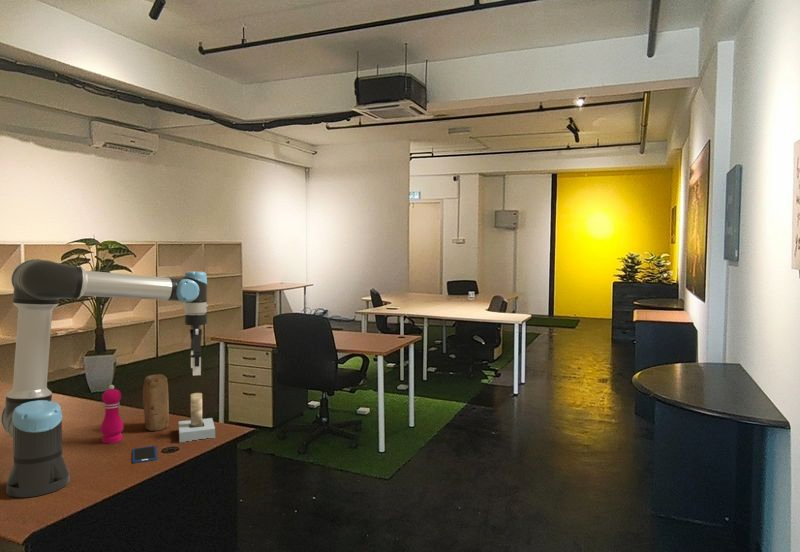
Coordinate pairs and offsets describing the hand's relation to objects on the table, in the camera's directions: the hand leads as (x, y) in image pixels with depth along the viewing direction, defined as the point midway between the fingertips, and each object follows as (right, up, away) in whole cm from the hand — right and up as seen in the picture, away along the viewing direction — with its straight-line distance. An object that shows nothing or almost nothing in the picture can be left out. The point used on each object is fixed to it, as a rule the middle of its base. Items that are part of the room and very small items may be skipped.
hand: (195, 371), depth 202 cm
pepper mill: (-27, -24, -6) cm, 37 cm away
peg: (0, -24, +1) cm, 24 cm away
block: (-18, -23, +8) cm, 31 cm away
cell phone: (-10, -25, -19) cm, 33 cm away
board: (0, -24, +1) cm, 24 cm away
